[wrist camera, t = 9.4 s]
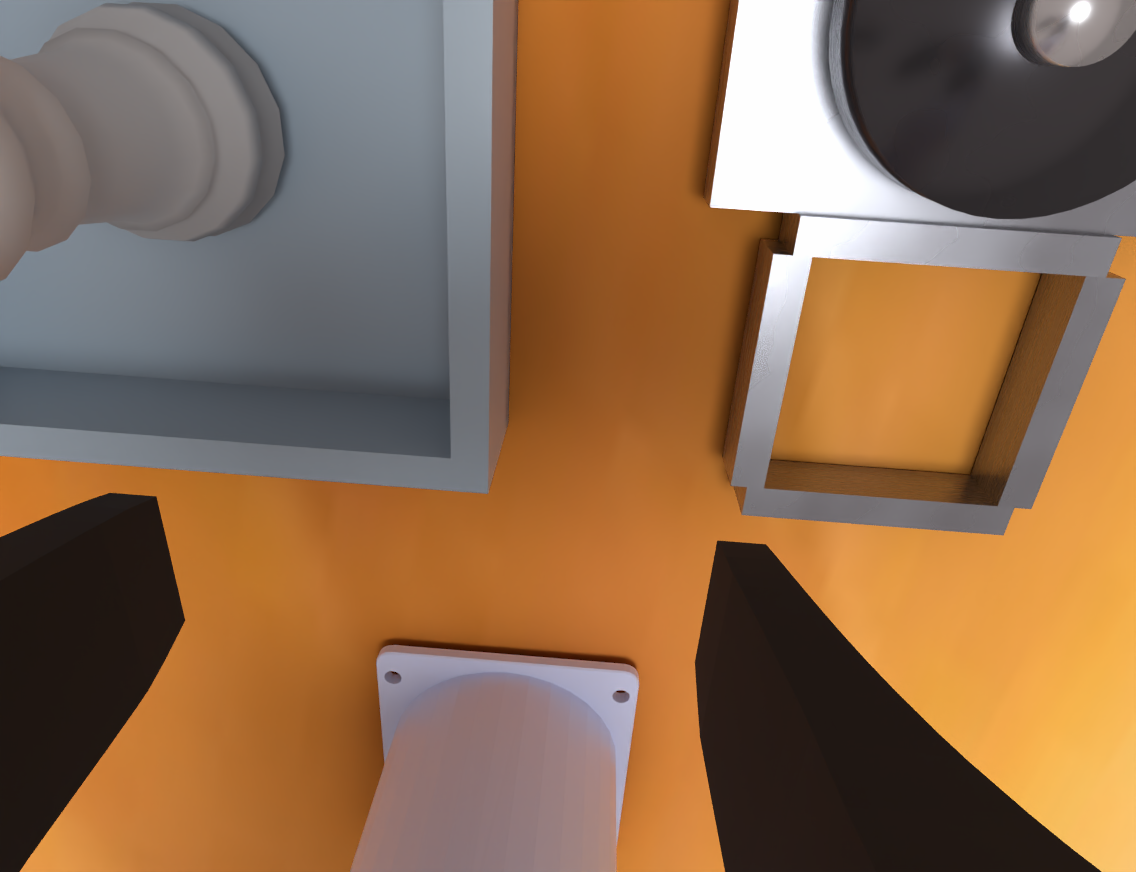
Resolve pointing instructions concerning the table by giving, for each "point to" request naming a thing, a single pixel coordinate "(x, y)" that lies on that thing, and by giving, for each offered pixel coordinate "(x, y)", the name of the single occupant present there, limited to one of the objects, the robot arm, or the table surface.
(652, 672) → the table surface
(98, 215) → the rook chess piece
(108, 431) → the tray
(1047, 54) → the pulley bracket
